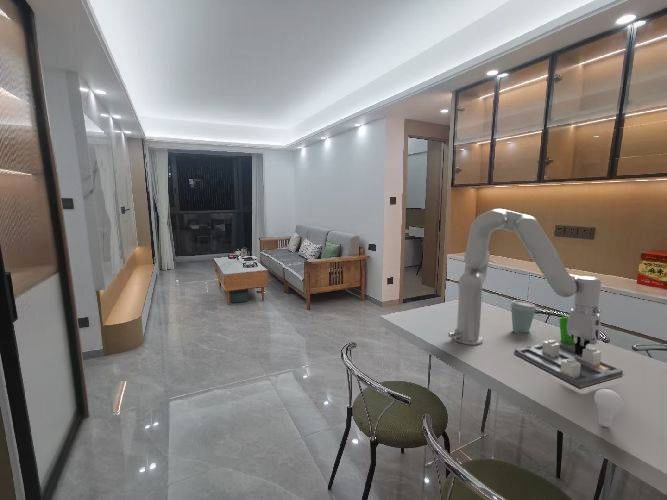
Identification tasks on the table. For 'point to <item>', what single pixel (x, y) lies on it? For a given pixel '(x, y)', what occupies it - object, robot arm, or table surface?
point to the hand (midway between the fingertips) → (579, 353)
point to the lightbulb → (607, 405)
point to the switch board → (554, 363)
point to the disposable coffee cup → (522, 316)
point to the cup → (565, 331)
